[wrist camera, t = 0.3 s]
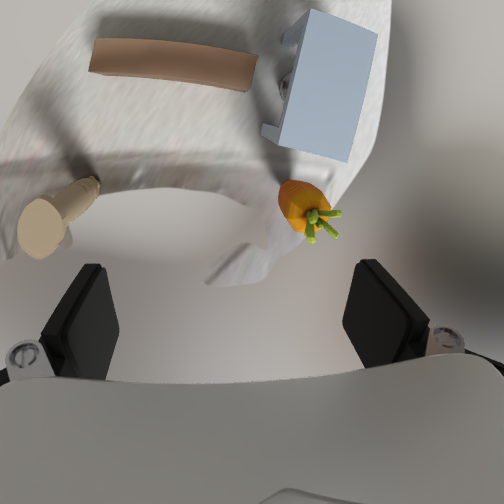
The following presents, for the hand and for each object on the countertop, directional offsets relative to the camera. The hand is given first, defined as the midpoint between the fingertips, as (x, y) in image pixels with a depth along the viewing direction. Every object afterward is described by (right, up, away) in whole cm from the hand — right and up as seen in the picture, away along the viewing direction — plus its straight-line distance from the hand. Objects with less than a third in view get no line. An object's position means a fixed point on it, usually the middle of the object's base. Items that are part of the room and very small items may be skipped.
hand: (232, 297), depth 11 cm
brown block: (-8, +24, +20) cm, 33 cm away
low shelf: (+7, +22, +23) cm, 33 cm away
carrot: (+5, +10, +29) cm, 31 cm away
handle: (-21, +10, +26) cm, 35 cm away
